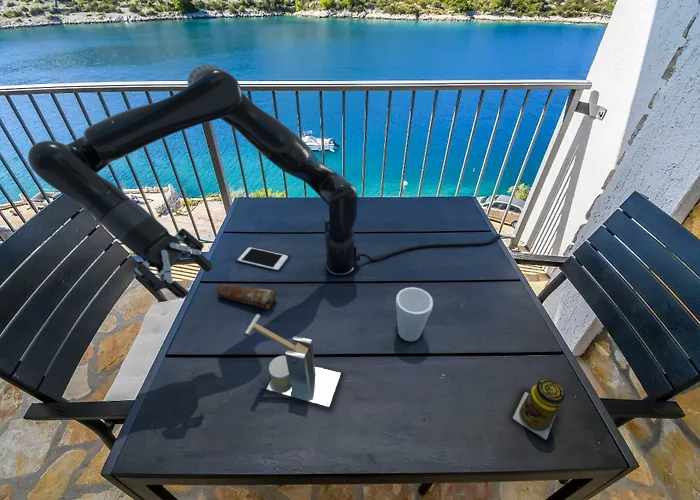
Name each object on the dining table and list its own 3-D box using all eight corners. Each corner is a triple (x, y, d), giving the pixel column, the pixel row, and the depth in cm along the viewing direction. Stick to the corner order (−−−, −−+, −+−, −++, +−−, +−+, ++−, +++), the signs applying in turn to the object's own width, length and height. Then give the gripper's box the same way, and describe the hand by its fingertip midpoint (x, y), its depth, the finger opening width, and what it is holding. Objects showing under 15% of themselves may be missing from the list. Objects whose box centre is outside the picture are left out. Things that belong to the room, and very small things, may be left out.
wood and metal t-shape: (242, 336, 75) (245, 330, 74) (254, 317, 79) (257, 311, 78) (298, 367, 77) (302, 362, 75) (307, 347, 81) (311, 342, 79)
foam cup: (428, 324, 100) (435, 292, 92) (423, 349, 93) (430, 317, 85) (396, 315, 103) (400, 284, 95) (388, 340, 96) (392, 308, 88)
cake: (290, 361, 90) (288, 351, 87) (299, 379, 86) (297, 370, 83) (267, 371, 87) (265, 361, 85) (276, 390, 83) (273, 381, 81)
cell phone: (278, 271, 118) (277, 269, 118) (237, 261, 122) (236, 259, 122) (288, 257, 124) (288, 255, 123) (249, 248, 128) (248, 246, 128)
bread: (269, 314, 103) (267, 301, 100) (215, 299, 108) (210, 287, 104) (279, 299, 108) (277, 286, 104) (226, 286, 113) (222, 273, 109)
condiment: (512, 418, 79) (528, 390, 71) (525, 391, 84) (541, 363, 76) (546, 440, 75) (567, 413, 68) (557, 411, 80) (578, 382, 73)
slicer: (266, 391, 84) (256, 355, 75) (282, 360, 91) (274, 323, 82) (329, 409, 81) (326, 373, 72) (340, 375, 88) (339, 338, 78)
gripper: (113, 239, 62) (185, 299, 67) (167, 201, 73) (225, 255, 78) (100, 256, 66) (169, 311, 71) (152, 218, 77) (209, 268, 82)
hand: (198, 282), depth 74 cm, fingers open, 8 cm apart
